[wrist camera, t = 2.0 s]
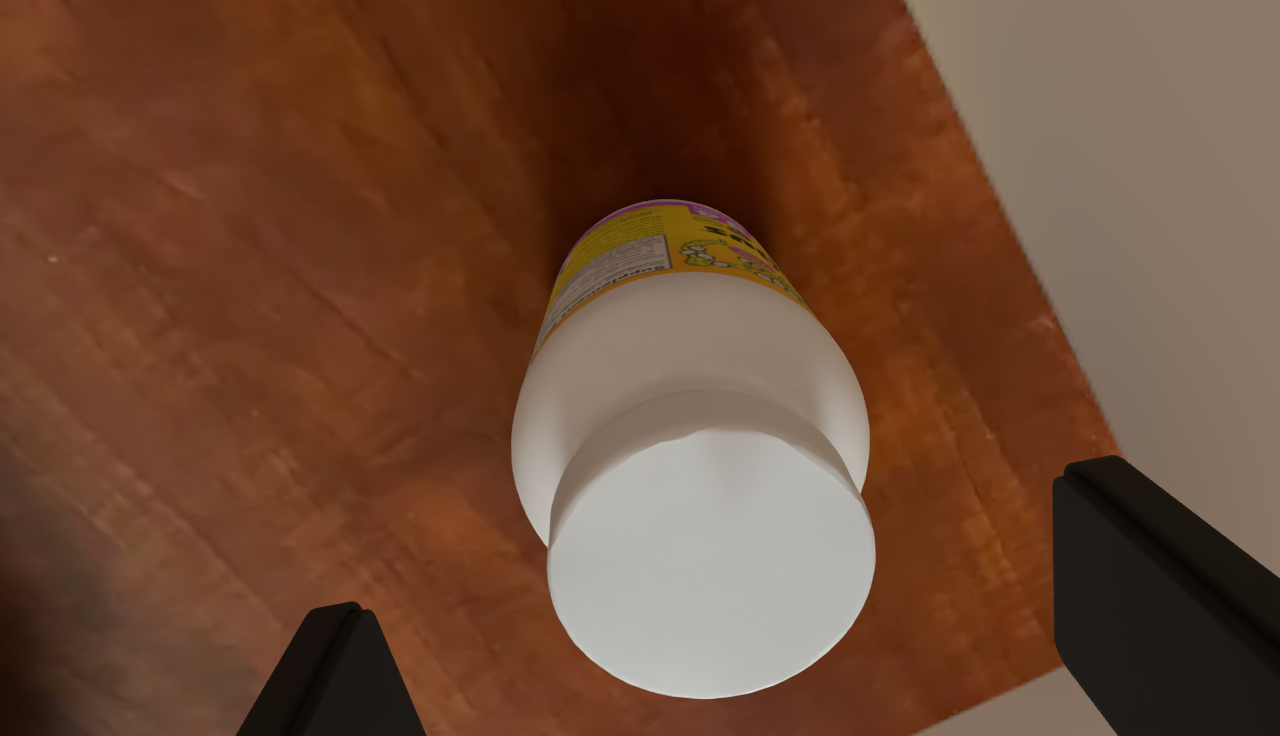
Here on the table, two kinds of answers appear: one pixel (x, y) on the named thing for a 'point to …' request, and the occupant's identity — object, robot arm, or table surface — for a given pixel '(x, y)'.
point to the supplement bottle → (693, 458)
